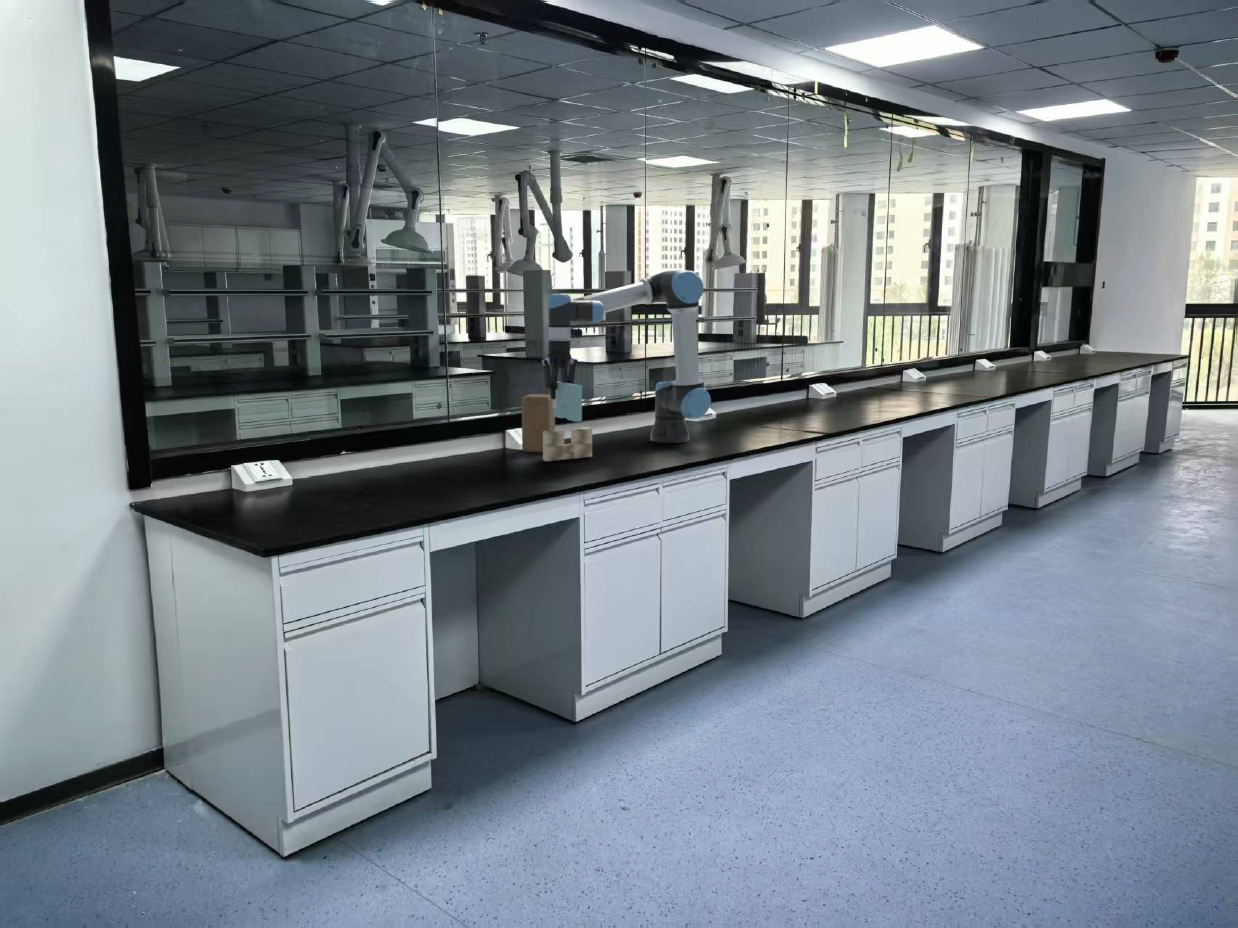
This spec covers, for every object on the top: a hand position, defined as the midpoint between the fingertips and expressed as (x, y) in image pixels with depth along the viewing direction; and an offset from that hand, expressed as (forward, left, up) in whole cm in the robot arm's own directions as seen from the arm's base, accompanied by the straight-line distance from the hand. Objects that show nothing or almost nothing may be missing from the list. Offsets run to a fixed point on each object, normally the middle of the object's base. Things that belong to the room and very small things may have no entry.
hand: (559, 408), depth 307 cm
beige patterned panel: (-2, +5, -17) cm, 18 cm away
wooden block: (+4, -14, -17) cm, 22 cm away
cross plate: (-1, +5, -3) cm, 6 cm away
